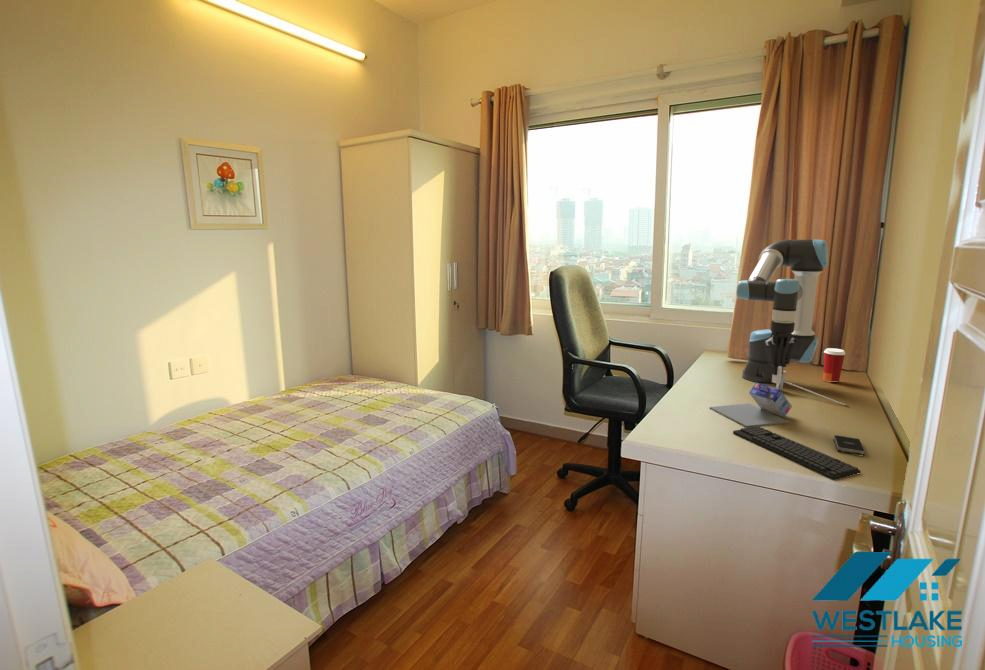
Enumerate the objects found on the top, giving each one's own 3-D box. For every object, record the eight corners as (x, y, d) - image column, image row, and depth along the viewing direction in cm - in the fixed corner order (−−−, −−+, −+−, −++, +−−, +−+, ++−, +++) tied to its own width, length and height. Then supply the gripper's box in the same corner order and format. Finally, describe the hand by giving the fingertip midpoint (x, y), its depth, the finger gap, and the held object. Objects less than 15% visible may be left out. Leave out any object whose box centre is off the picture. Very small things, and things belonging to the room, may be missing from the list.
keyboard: (732, 434, 169) (732, 429, 168) (756, 430, 173) (757, 424, 172) (833, 482, 136) (834, 475, 136) (861, 475, 140) (862, 468, 140)
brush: (844, 420, 193) (851, 400, 189) (774, 392, 213) (779, 372, 210) (848, 417, 195) (855, 397, 191) (778, 389, 215) (783, 370, 212)
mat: (748, 404, 197) (748, 403, 196) (788, 422, 177) (789, 421, 177) (709, 408, 193) (709, 407, 192) (746, 427, 173) (746, 425, 173)
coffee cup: (841, 380, 228) (845, 349, 225) (842, 385, 221) (846, 352, 218) (819, 377, 232) (823, 347, 229) (819, 382, 226) (824, 350, 223)
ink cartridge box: (793, 405, 183) (777, 385, 176) (786, 417, 182) (770, 397, 176) (768, 398, 192) (752, 378, 185) (761, 409, 191) (745, 390, 184)
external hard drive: (837, 453, 154) (838, 447, 153) (833, 440, 163) (833, 434, 163) (864, 457, 150) (865, 451, 150) (858, 444, 160) (859, 438, 160)
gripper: (789, 318, 185) (782, 378, 190) (760, 320, 182) (754, 381, 187) (806, 322, 178) (798, 384, 183) (776, 323, 175) (769, 386, 180)
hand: (776, 382), depth 185 cm, fingers closed
